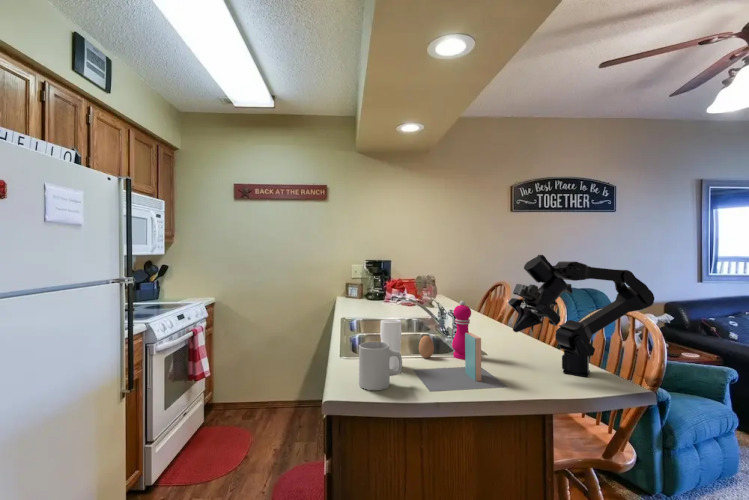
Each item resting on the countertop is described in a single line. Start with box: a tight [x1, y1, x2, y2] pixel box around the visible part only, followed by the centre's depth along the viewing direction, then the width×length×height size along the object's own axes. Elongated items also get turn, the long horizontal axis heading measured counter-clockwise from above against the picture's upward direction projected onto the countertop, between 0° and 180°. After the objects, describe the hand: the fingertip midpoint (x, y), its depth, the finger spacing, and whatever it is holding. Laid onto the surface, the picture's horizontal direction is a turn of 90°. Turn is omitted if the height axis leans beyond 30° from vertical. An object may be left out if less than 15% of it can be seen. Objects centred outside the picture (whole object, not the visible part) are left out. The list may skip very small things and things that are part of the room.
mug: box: [358, 341, 403, 391], centre depth 97 cm, size 12×8×11 cm
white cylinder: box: [379, 318, 403, 370], centre depth 111 cm, size 7×7×15 cm
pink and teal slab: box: [464, 332, 482, 381], centre depth 102 cm, size 2×7×12 cm, turn 8°
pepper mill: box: [451, 300, 472, 361], centre depth 122 cm, size 7×7×20 cm
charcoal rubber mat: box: [412, 366, 509, 393], centre depth 101 cm, size 22×18×1 cm
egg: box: [418, 335, 434, 359], centre depth 122 cm, size 5×5×8 cm
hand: (514, 331), depth 104 cm, fingers closed
